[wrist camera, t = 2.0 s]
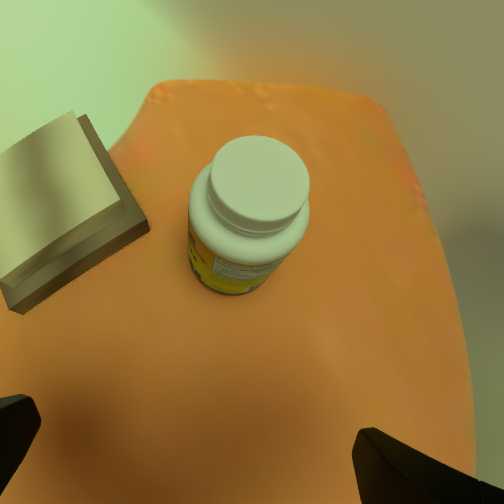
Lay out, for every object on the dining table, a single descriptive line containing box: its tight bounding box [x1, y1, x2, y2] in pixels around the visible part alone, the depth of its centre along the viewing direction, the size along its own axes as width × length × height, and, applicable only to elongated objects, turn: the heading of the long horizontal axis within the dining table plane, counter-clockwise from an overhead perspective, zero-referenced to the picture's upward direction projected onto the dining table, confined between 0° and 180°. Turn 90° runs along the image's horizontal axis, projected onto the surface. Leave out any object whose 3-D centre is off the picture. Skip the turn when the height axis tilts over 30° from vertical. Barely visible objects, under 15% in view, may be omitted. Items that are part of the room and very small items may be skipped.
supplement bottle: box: [188, 136, 310, 296], centre depth 17 cm, size 6×6×10 cm
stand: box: [0, 110, 150, 315], centre depth 18 cm, size 11×11×4 cm
